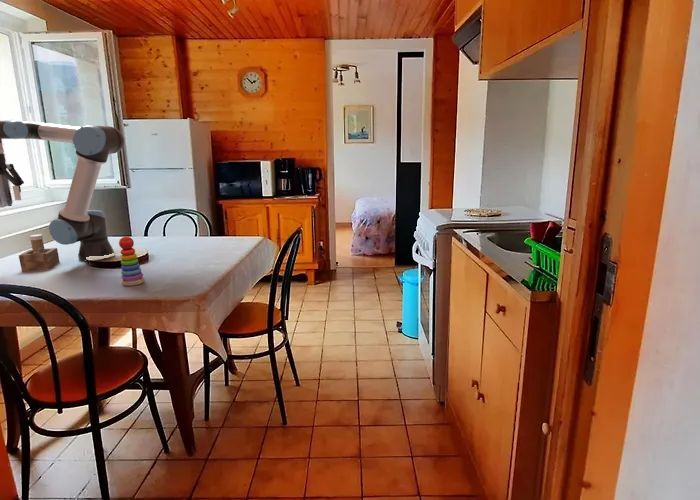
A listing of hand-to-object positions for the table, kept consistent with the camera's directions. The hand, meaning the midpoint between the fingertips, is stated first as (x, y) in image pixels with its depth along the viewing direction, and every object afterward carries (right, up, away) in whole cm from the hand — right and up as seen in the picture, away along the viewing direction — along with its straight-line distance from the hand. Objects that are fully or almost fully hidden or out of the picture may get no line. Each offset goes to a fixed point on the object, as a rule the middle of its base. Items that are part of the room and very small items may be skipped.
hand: (3, 202), depth 195 cm
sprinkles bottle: (+15, -28, +3) cm, 32 cm away
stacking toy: (+69, -34, -23) cm, 81 cm away
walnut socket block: (+15, -29, +2) cm, 33 cm away
